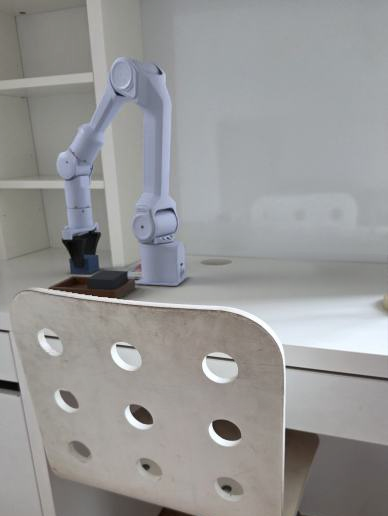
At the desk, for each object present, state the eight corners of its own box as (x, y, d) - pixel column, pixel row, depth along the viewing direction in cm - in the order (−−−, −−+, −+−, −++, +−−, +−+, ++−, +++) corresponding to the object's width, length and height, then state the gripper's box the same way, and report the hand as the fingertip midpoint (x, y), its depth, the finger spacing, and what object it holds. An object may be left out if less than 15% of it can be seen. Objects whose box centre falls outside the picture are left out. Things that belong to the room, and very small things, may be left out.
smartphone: (120, 275, 119) (142, 261, 132) (121, 279, 119) (142, 265, 133) (151, 275, 117) (170, 261, 131) (152, 280, 117) (170, 265, 131)
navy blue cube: (99, 269, 129) (98, 254, 128) (89, 274, 124) (88, 259, 123) (81, 268, 131) (79, 254, 129) (70, 273, 126) (69, 258, 124)
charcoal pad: (128, 287, 110) (127, 271, 109) (113, 296, 103) (112, 279, 102) (104, 285, 111) (102, 270, 110) (87, 295, 105) (86, 278, 103)
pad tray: (135, 288, 111) (134, 278, 110) (116, 301, 102) (115, 291, 101) (73, 285, 115) (72, 275, 114) (49, 297, 106) (48, 287, 105)
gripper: (78, 203, 130) (83, 258, 134) (47, 210, 117) (54, 270, 121) (104, 203, 128) (108, 259, 133) (76, 211, 115) (82, 272, 120)
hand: (84, 264), depth 127 cm, fingers closed on navy blue cube, 5 cm apart
